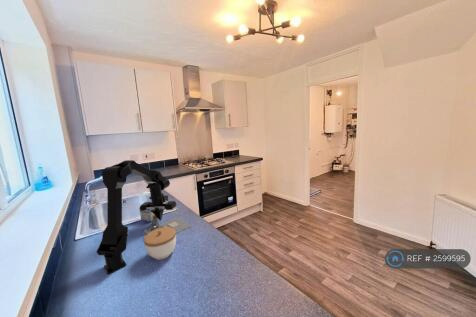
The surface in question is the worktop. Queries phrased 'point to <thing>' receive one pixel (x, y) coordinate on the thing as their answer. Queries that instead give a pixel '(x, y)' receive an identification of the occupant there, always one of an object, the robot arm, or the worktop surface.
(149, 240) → the lidded bowl
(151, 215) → the medicine box
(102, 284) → the worktop surface
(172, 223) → the chassis plate
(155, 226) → the cable arm
